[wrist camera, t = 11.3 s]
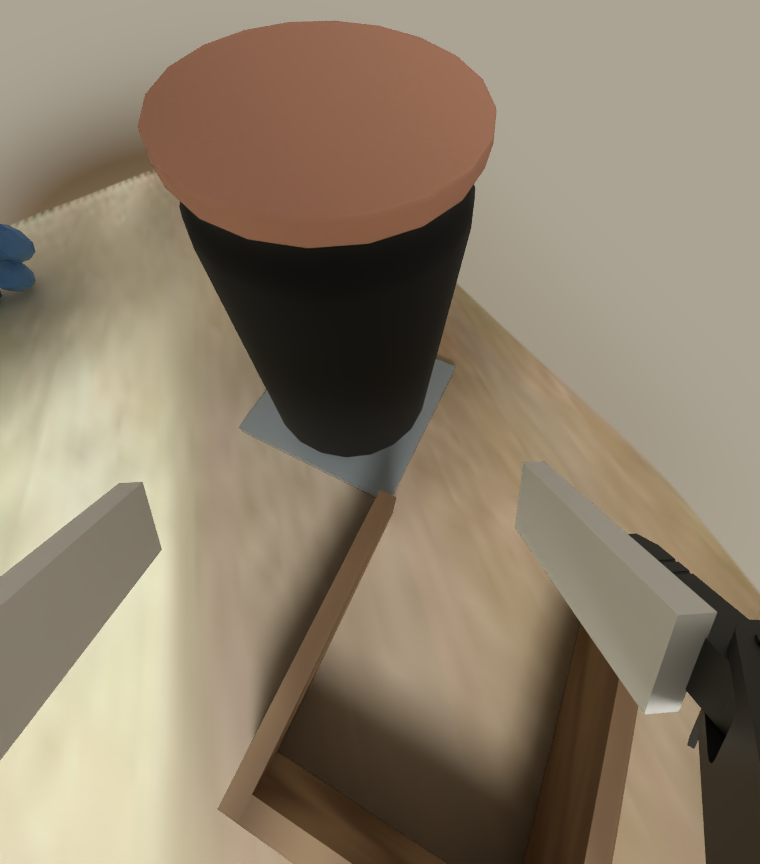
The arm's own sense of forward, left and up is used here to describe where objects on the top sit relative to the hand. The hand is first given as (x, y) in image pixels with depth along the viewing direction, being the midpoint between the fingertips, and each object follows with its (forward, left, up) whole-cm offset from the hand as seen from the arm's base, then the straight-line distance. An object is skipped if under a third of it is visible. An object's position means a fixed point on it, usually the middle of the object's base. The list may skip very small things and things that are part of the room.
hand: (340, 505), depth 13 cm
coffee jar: (-5, +9, -11) cm, 16 cm away
